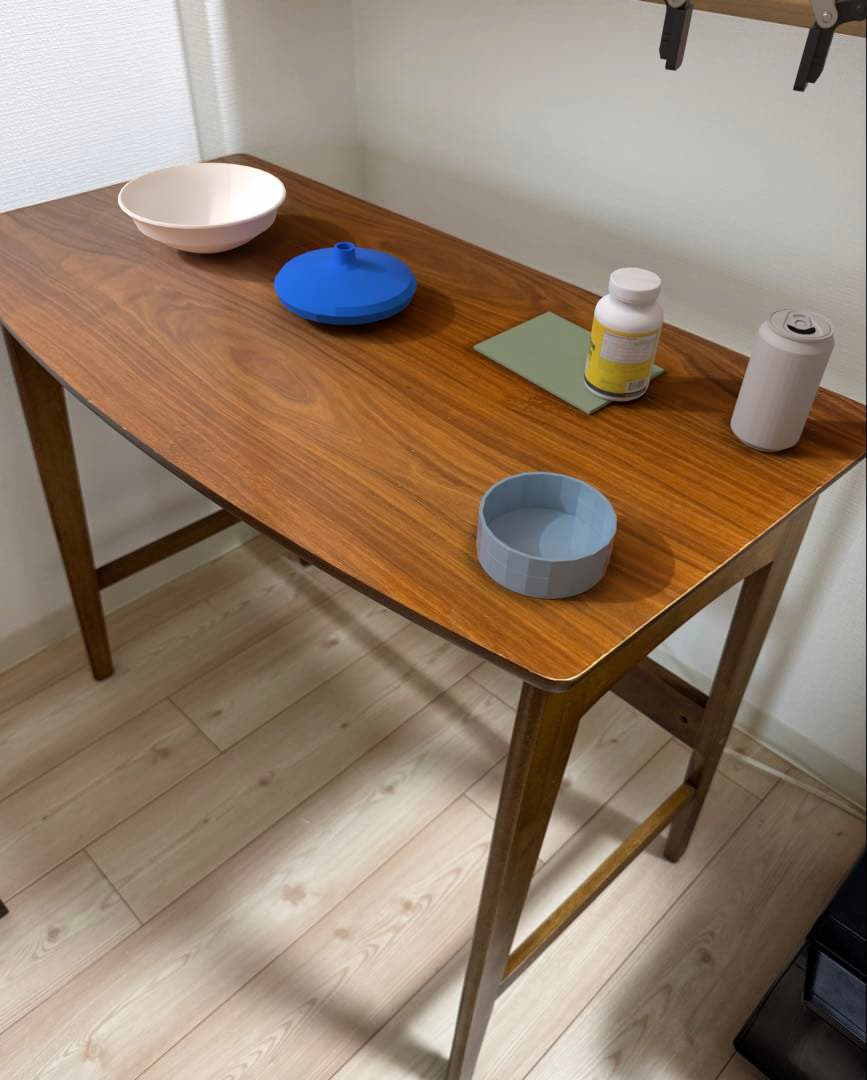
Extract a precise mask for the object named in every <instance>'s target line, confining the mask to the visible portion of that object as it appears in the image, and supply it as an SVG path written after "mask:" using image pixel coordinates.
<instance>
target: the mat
mask: <svg viewBox="0 0 867 1080" xmlns="http://www.w3.org/2000/svg"><path fill="white" fill-rule="evenodd" d="M590 337H591V331H589V330H587V329H585V328H583V327H581V326H579V325H577V324H576V323H574V322H572V321H569V320H567V319H566V318H563V317H561V316H560V315H557V314H556V313H554V312H552V311H550V310H549V311H547V312H545V313H542V314H540V315H538V316H536V317H534V318H531V319H530V320H529V319H528V320H527V321H525V322H523V323H521V324H518V325H516V326H514V327H512V328H509V329H507V330H505V331H503V332H501V333H499V334H497V335H494V336H492V337H490V338H487V339H485V340H483V341H481V342H478V343H477V344H475V345H473V350H475V351H477V352H478V353H480V354H482V355H483V356H485V357H487V358H489V359H490V360H491V361H494V362H496V363H497V364H499V365H500V366H503V367H504V368H506V369H508V370H510V371H511V372H513V373H514V374H517V375H519V376H520V377H522V378H524V379H525V380H527V381H529V382H531V383H532V384H535V386H538V387H540V388H541V389H543V390H545V391H547V392H548V393H550V394H552V395H553V396H556V397H557V398H559V399H561V400H562V401H564V402H566V403H568V404H569V405H571V406H573V407H575V408H577V409H578V410H580V411H582V412H584V413H586V414H587V415H592V414H593V413H595V412H597V411H599V410H600V409H602V408H604V407H605V406H607V405H609V404H611V403H612V402H613V401H612V400H607V399H603V398H601V397H598V396H597V395H595V394H593V393H592V392H591V391H590V390H589V389H588V388H587V387H586V385H585V382H584V372H585V366H586V360H587V355H588V348H589V343H590ZM663 373H665V368H662V367H661V366H658V365H656V364H654V363H653V367H652V372H651V376H650V381H652V380H653V379H655V378H657V377H658V376H661V375H662V374H663Z"/></svg>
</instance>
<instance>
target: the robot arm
mask: <svg viewBox="0 0 867 1080" xmlns="http://www.w3.org/2000/svg"><path fill="white" fill-rule="evenodd" d="M691 1H692V0H663V2H664V4H665V9H666V10H665V14H664V20H663V27H662V30H661V32H662V33H661V35H660V36H661V37H660V43H659V47H658V53H659V59H660V60H665V65H664V69H665V70H667V71H671V72H672V71H673V72H677V70H678V69H680V67H681V66H682V64H683V61H684V56H685V51H686V47H687V42H688V37H689V32H690V28H691V27H690V26H691V22H692V17H693V11H694V7H695V4H694V3H691ZM808 3H809V5H810V7H811V11H812V13H813V15H814V18H815V21H814V22H813V23H812V25H810V27H809V30H808V32H807V33H808V34H807V37H806V41H805V44H804V48H803V51H802V54H801V59H800V62H799V65H798V70H797V73H796V76H795V81H794V83H793V88H792V91H793V92H794V91H795V92H799V93H804V92H805V91H806V89H807V87H808V85H809V84H815V83H816V82H817V81H818V79H819V78H820V77H821V75H822V73H823V71H824V69H825V66H826V62H827V59H828V55H829V52H830V49H831V45H832V42H833V38H834V36H835V32H836V29H837V28H838V27H839V26H841V25H843V24H846V23H852V22H862V21H865V20H866V19H867V0H808Z"/></svg>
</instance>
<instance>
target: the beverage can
mask: <svg viewBox="0 0 867 1080" xmlns="http://www.w3.org/2000/svg"><path fill="white" fill-rule="evenodd" d="M835 330H836V327H835V325H834V323H833V322H832V321H831V320H830V319H829V318H827V317H826V316H824V315H823V314H821V313H819V312H816V311H812V310H811V309H810V310H809V309H806V308H799V307H780V308H776V309H773V310H771V311H770V312H769V313H768V314H767V317H766V320H765V321H763V322H762V323H761V325H759V328H758V331H757V334H756V337H755V341H754V344H753V347H752V351H751V353H750V357H749V359H748V363H747V366H746V370H745V374H744V377H743V379H742V383H741V387H740V390H739V393H738V397H737V399H736V402H735V406H734V410H733V412H732V415H731V419H730V429H731V431H732V432H733V434H734V435H735V436H736V437H737V438H738V439H739V440H740V442H742V443H743V444H744V445H746V446H748V447H749V448H751V449H754V450H757V451H760V452H766V453H774V452H780V451H783V450H786V449H790V448H792V447H794V446H795V445H797V443H798V442H799V441H800V439H801V435H802V433H803V431H804V428H805V425H806V422H807V420H808V417H809V414H810V411H811V409H812V406H813V404H814V401H815V398H816V396H817V393H818V391H819V387H820V385H821V382H822V379H823V377H824V374H825V371H826V369H827V366H828V363H829V360H830V358H831V356H832V353H833V350H834V348H835V345H836V344H835V338H834V334H835Z"/></svg>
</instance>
